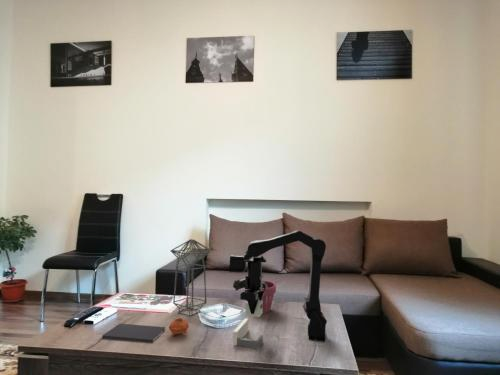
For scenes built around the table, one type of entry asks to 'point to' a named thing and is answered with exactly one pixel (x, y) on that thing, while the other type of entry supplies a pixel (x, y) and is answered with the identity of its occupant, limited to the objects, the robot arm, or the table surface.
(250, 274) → the robot arm
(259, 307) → the cabinet block
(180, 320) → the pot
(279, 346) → the table surface
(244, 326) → the cleat board
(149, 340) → the notebook
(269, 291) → the plant pot
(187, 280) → the geometric lantern
